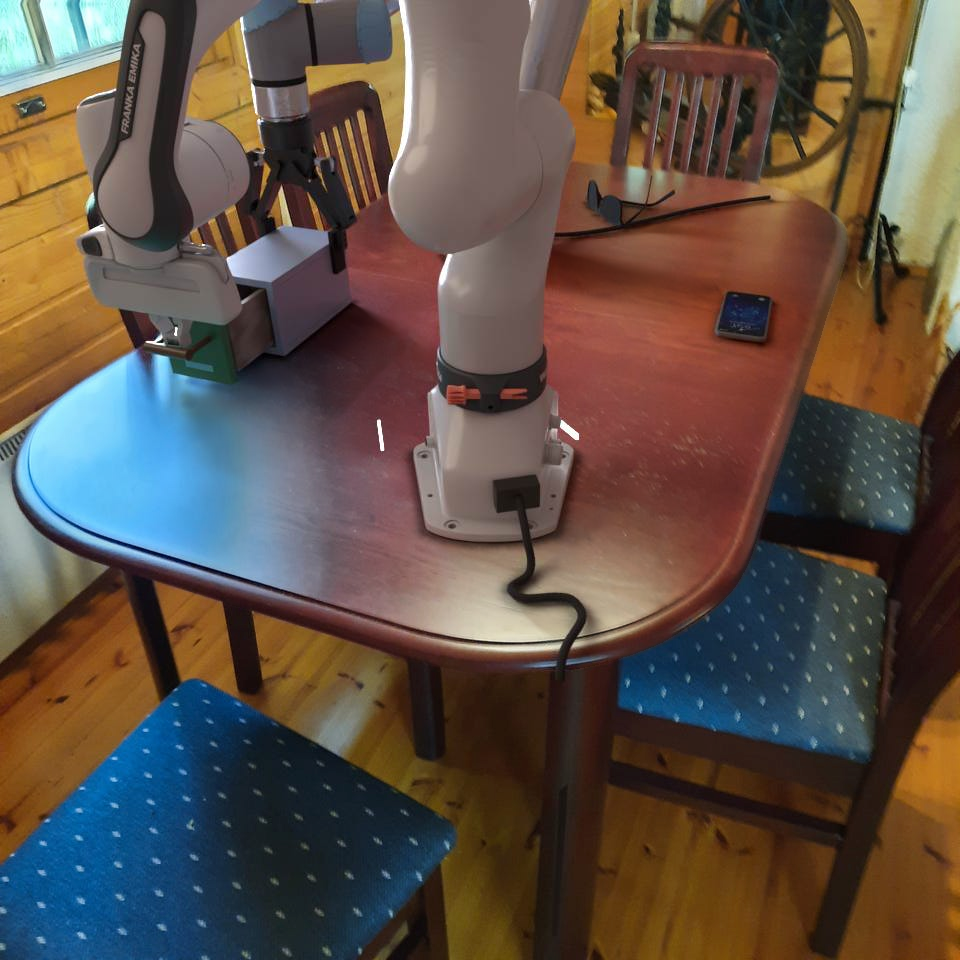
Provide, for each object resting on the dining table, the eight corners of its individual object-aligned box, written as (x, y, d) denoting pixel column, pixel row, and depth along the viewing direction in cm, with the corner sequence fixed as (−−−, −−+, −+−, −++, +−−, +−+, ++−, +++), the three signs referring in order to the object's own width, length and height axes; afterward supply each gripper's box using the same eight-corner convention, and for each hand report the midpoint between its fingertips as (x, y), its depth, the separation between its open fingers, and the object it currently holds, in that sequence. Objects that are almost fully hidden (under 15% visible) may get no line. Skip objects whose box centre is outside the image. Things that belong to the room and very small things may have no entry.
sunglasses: (684, 220, 161) (688, 194, 158) (614, 230, 158) (616, 203, 155) (646, 193, 174) (648, 168, 171) (580, 201, 171) (581, 176, 168)
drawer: (207, 405, 109) (191, 341, 103) (146, 392, 112) (127, 328, 107) (306, 328, 126) (297, 269, 121) (250, 318, 129) (239, 260, 124)
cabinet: (284, 356, 121) (271, 282, 115) (220, 344, 125) (204, 271, 118) (351, 302, 136) (343, 233, 129) (292, 292, 139) (282, 225, 133)
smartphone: (773, 295, 132) (766, 339, 121) (772, 301, 133) (765, 345, 121) (725, 289, 134) (713, 331, 123) (724, 295, 135) (712, 337, 123)
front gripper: (239, 237, 99) (262, 345, 107) (101, 221, 105) (133, 323, 114) (205, 257, 94) (232, 368, 102) (63, 238, 101) (99, 344, 109)
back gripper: (371, 114, 118) (385, 266, 131) (230, 103, 125) (256, 247, 138) (344, 128, 112) (361, 285, 125) (198, 115, 120) (228, 264, 133)
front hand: (178, 344), depth 108 cm, fingers closed
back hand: (306, 265), depth 132 cm, fingers closed on cabinet, 11 cm apart
